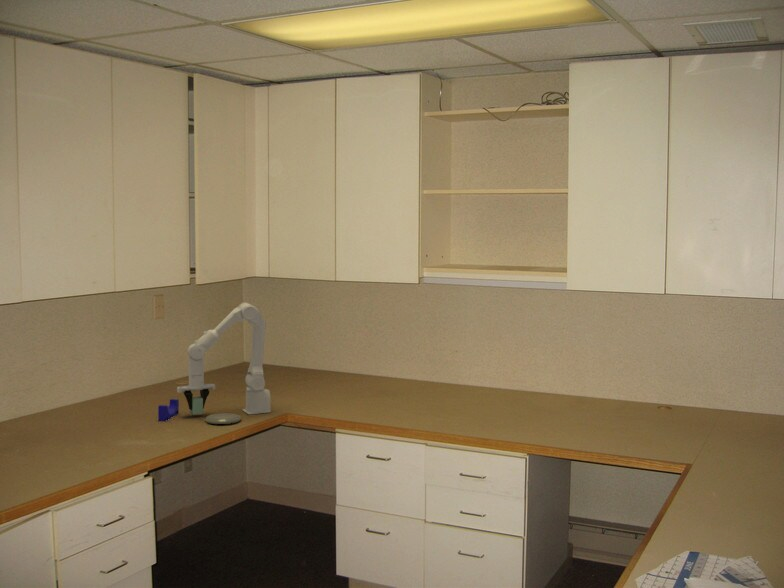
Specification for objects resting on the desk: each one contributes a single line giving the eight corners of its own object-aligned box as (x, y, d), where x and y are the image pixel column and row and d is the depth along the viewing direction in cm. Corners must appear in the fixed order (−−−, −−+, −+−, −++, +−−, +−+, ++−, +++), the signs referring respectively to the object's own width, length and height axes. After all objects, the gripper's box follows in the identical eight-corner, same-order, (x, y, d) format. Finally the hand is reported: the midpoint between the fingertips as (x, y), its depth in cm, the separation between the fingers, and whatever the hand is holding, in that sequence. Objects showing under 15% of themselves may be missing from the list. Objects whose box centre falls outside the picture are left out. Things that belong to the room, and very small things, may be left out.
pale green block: (200, 411, 316) (199, 396, 315) (203, 413, 313) (202, 398, 312) (190, 412, 314) (189, 397, 313) (192, 414, 311) (192, 399, 310)
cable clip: (167, 413, 317) (167, 398, 317) (178, 414, 317) (178, 399, 316) (154, 421, 305) (154, 405, 305) (165, 421, 305) (165, 406, 304)
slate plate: (234, 415, 315) (234, 411, 315) (245, 423, 304) (245, 419, 304) (201, 419, 309) (201, 415, 309) (211, 427, 298) (211, 423, 298)
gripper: (211, 371, 319) (211, 404, 320) (174, 374, 312) (175, 408, 313) (216, 374, 313) (216, 408, 314) (179, 377, 306) (180, 412, 307)
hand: (196, 408), depth 313 cm, fingers closed on pale green block, 4 cm apart
